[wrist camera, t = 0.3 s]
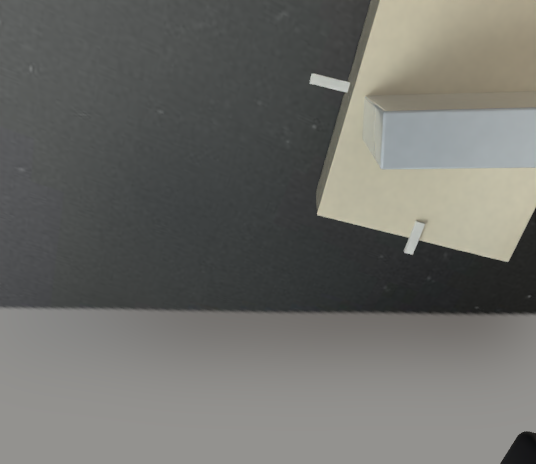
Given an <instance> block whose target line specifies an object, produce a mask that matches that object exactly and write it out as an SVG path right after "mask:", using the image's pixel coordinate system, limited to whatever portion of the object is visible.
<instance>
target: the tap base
mask: <svg viewBox="0 0 536 464" xmlns="http://www.w3.org/2000/svg"><path fill="white" fill-rule="evenodd" d="M310 84H314V85H318V86H322V87H326V88H330V89H334V90H338V91H342V92H345V93H344V97H343V100H342V104H341V107H340V111H339V114H338V117H337V121H336V124H335V128H334V131H333V135H332V138H331V142H330V145H329V149H328V152H327V156H326V159H325V163H324V166H323V170H322V173H321V177H320V180H319V184H318V187H317V191H316V202H317V215H319V216H323V217H327V218H331V219H335V220H339V221H343V222H347V223H351V224H355V225H359V226H363V227H367V228H371V229H375V230H379V231H383V232H388V233H392V234H396V235H400V236H404V237H408V238H409V239H408V241H407V244H406V247H405V249H404V253H407V254H411V255H413V253H414V251H415V248H416V246H417V243H418V241H419V240H420V241H424V242H428V243H432V244H436V245H440V246H444V247H448V248H452V249H456V250H460V251H464V252H468V253H472V254H476V255H480V256H484V257H488V258H493V259H497V260H501V261H505V262H509V260H510V258H511V256H512V254H513V252H514V250H515V248H516V246H517V244H518V242H519V240H520V238H521V236H522V234H523V232H524V230H525V228H526V226H527V224H528V222H529V220H530V218H531V216H532V214H533V212H534V210H535V208H536V168H469V169H389V170H382V169H380V167H379V165H378V164H377V162H376V160H375V159H374V157H373V155H372V154H371V152H370V151H369V149H368V147H367V146H366V144H365V142H364V141H363V139H362V137H363V115H364V98H365V96H373V95H410V94H446V93H483V92H519V91H536V0H371V3H370V6H369V9H368V13H367V16H366V20H365V23H364V27H363V30H362V34H361V37H360V41H359V44H358V48H357V51H356V55H355V58H354V62H353V65H352V69H351V72H350V76H349V79H348V82H347V81H343V80H339V79H335V78H331V77H327V76H323V75H319V74H315V73H312V75H311V79H310Z"/></svg>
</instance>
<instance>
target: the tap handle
mask: <svg viewBox="0 0 536 464" xmlns="http://www.w3.org/2000/svg"><path fill="white" fill-rule="evenodd" d="M362 139H363V141H364V142H365V144H366V146H367V147H368V149H369V151H370V152H371V154H372V155H373V157H374V159H375V160H376V162H377V164H378V165H379V167H380V169H382V170H389V169H469V168H536V91H519V92H483V93H446V94H410V95H373V96H365V98H364V115H363V137H362Z"/></svg>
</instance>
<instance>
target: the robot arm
mask: <svg viewBox="0 0 536 464" xmlns="http://www.w3.org/2000/svg"><path fill="white" fill-rule="evenodd" d="M501 464H536V433H532V432H522V433H521V434H519V435H518V437H517V438H516V440H515V441H514V443H513V444H512V446H511V447H510V449H509V451H508V452H507V454H506V455H505V457H504V459H503V460H502V462H501Z"/></svg>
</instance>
